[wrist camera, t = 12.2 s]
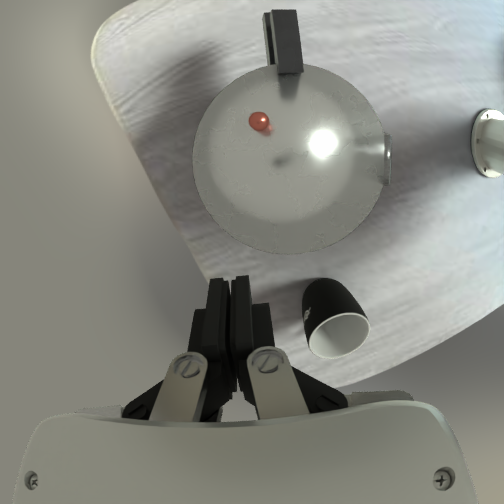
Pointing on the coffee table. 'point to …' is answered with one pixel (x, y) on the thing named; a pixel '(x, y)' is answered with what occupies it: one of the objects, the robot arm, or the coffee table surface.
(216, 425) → the robot arm
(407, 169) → the coffee table surface
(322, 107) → the lid
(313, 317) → the mug
